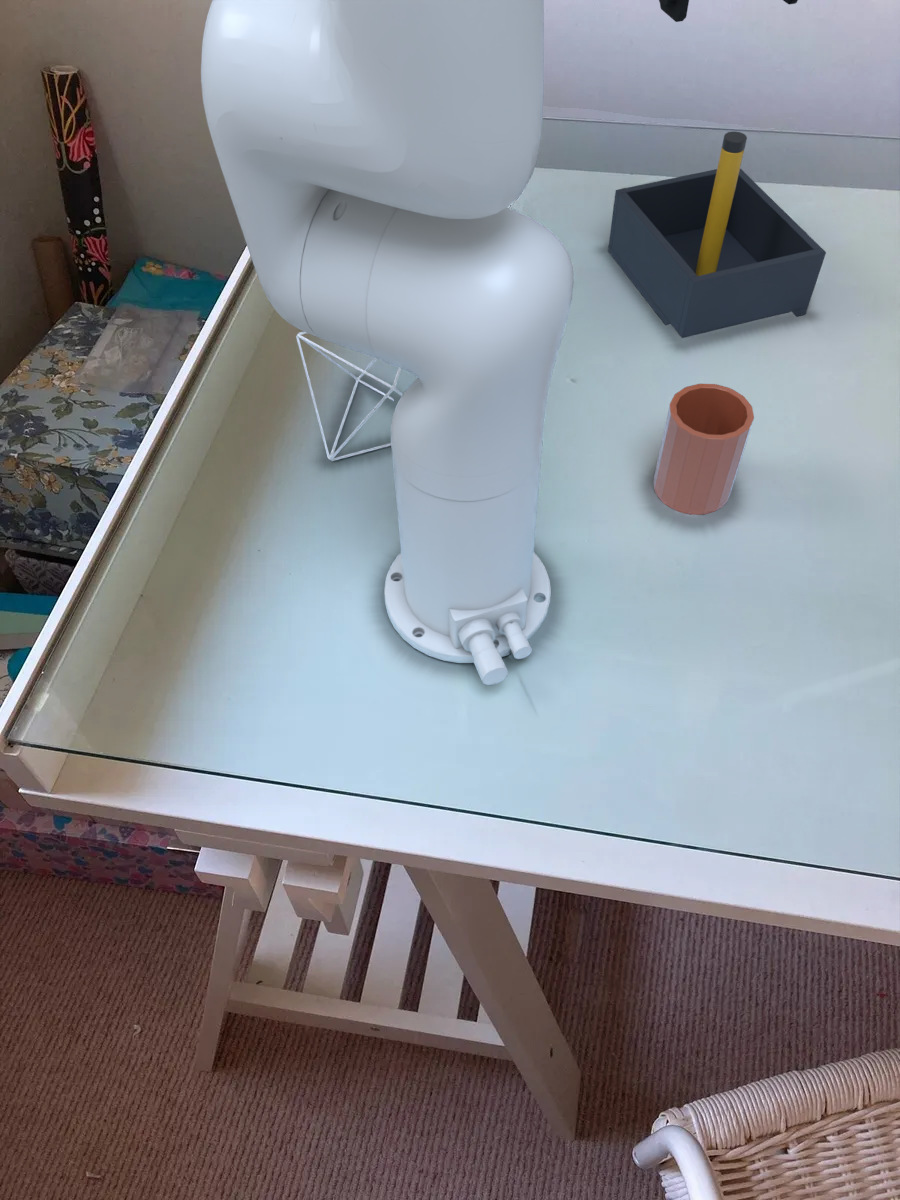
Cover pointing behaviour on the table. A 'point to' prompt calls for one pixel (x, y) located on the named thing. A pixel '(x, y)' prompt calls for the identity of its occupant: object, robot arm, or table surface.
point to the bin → (746, 264)
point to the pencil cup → (702, 448)
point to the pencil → (721, 202)
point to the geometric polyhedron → (393, 388)
